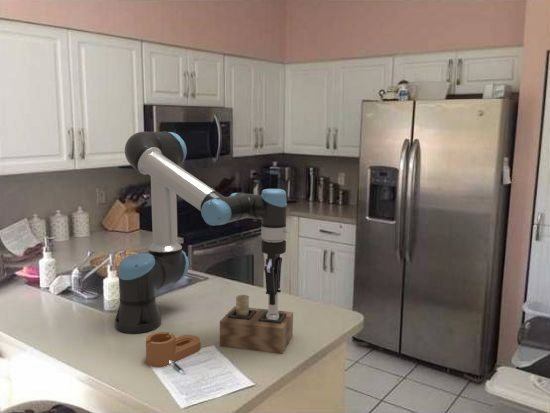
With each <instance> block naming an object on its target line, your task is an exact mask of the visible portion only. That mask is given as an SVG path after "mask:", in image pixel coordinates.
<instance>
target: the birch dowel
mask: <svg viewBox="0 0 550 413" xmlns="http://www.w3.org/2000/svg"><path fill="white" fill-rule="evenodd" d="M249 305H250V298H249V295H247V294H239V295H236V297H235V306H236V316H244V317H248V316H249V308H250V306H249Z"/></svg>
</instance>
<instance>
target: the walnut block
mask: <svg viewBox="0 0 550 413" xmlns="http://www.w3.org/2000/svg"><path fill="white" fill-rule="evenodd" d="M267 313H268V308H267V309H266V308H265V309H264V308H257V307H249V316H248V317H244V316H236V305H234V306H233V307H232V308H231V309H230V310H229V311H228V312H227V313H226V314H225V316H223V317H222V318H221V319H220V320H219V347H225V348H226V347H227V348H234V349H243V350H250V351H257V352H266V353H274V354H282V355H283V354H284V352H285V351H286V348H287V347H288V345H289V342H290V341H291V339H292V337H293V335H294V334H293V330H294V312H293V311H287V310H286V311H285V310H278V313H279V320H271V319H266V314H267Z"/></svg>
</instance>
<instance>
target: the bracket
mask: <svg viewBox="0 0 550 413" xmlns="http://www.w3.org/2000/svg"><path fill="white" fill-rule="evenodd" d="M199 351H201V338H200V337H199V336H196V335H194V334H193V335H191V334H186V335H185V334H183V335H179V336H177V337H176V335H175V333H169V332H168V331H159V332H154V333H152V334H149V335H147V336H146V338H145V357H146V362H145V363H146V364H147V365H148V366H149V367H152V368H153V367H154V368H163V367H164V366H165V367H168V366H167V365H169V360H172V361H174V363H176V362H179V361H180V360H182V359H185V358H187V357H189V356H191V355H192V356H193V355H195V354H196V353H198V352H199ZM169 366H170V365H169ZM165 367H164V368H165Z"/></svg>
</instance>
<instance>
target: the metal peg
mask: <svg viewBox="0 0 550 413" xmlns="http://www.w3.org/2000/svg"><path fill="white" fill-rule="evenodd" d="M266 319H271V320H279V313H278V314H277V315H275V314H268V313H267V314H266Z"/></svg>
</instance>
